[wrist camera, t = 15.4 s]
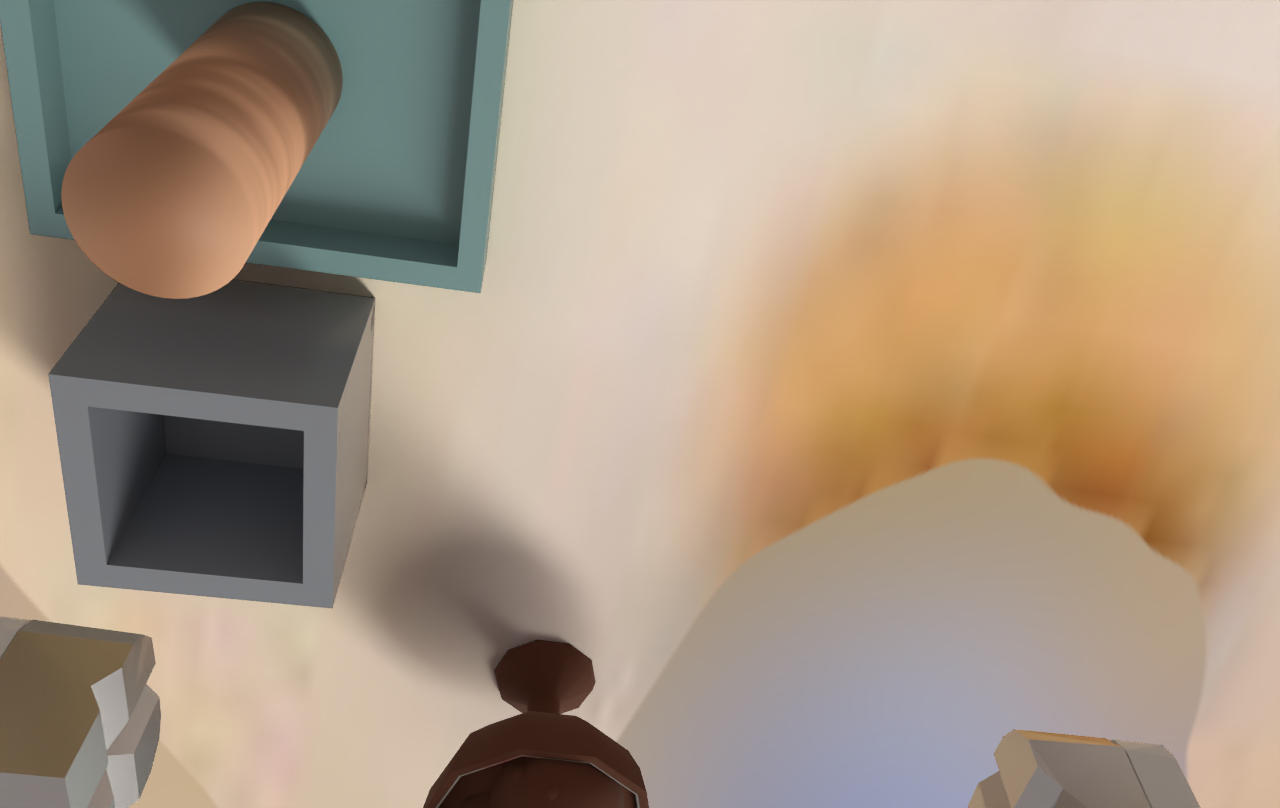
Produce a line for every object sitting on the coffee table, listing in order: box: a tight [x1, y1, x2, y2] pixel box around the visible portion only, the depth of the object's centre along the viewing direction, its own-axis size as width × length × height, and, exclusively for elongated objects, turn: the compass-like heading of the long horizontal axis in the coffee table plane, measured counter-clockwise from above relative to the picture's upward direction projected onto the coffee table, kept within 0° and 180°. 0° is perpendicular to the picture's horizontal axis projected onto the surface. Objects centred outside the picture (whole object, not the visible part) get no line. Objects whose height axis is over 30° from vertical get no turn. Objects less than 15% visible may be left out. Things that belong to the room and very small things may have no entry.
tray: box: [0, 0, 513, 293], centre depth 41 cm, size 17×14×3 cm
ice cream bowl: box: [423, 640, 649, 808], centre depth 54 cm, size 11×11×15 cm
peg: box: [61, 2, 343, 299], centre depth 36 cm, size 5×5×13 cm
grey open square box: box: [49, 280, 375, 608], centre depth 46 cm, size 10×10×8 cm
